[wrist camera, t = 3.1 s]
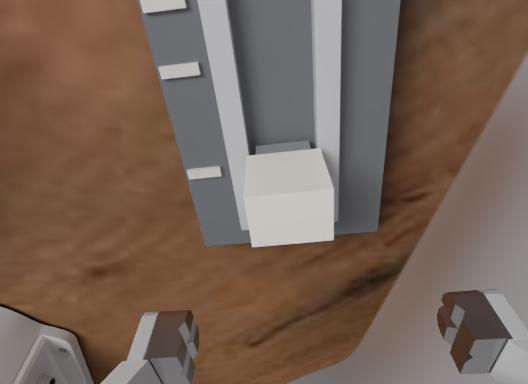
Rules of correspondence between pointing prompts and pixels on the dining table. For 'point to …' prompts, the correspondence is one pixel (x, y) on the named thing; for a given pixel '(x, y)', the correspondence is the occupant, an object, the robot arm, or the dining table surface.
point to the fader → (288, 195)
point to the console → (276, 96)
